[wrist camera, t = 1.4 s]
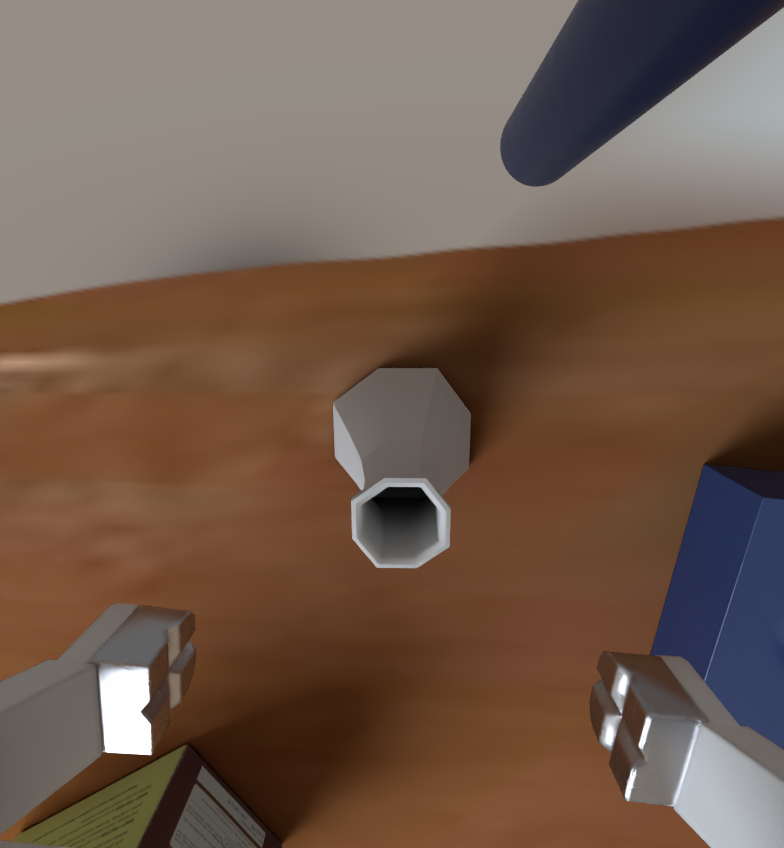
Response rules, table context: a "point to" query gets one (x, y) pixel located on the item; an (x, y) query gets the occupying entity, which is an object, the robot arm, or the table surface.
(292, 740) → the table surface
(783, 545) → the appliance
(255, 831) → the protein box
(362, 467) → the flask
